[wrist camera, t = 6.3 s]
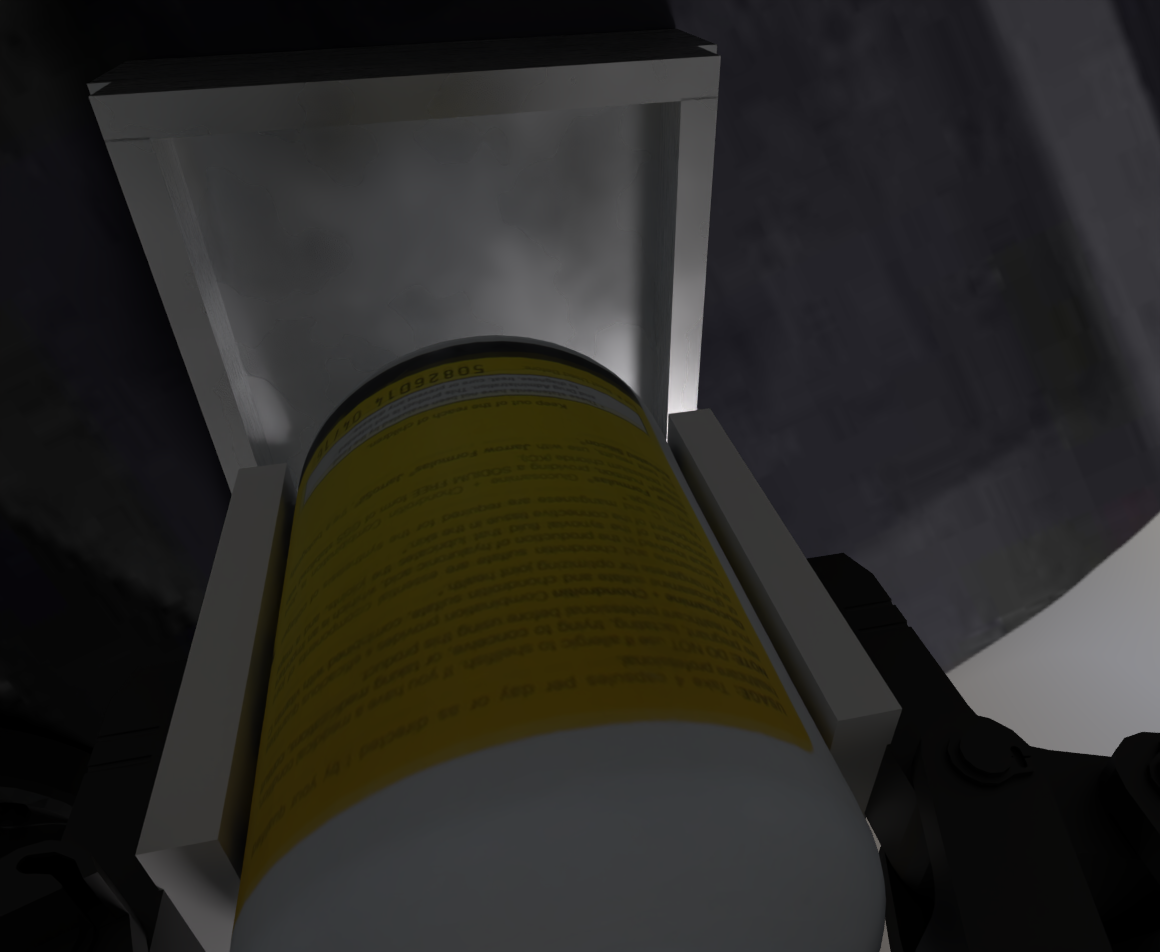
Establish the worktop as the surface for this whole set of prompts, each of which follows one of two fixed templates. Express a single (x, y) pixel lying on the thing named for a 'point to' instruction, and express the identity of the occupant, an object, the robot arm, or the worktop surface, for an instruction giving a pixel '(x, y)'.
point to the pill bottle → (531, 692)
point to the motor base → (417, 213)
